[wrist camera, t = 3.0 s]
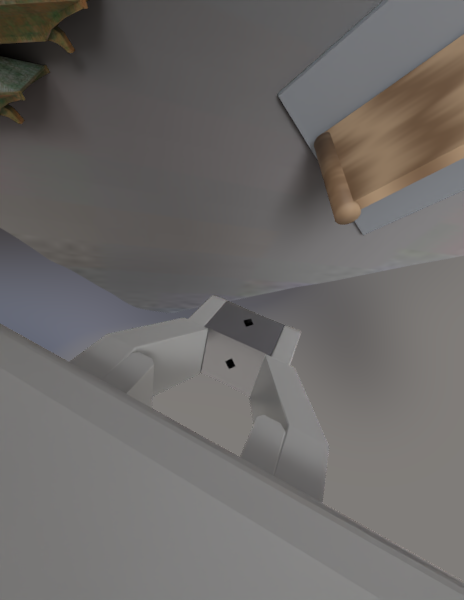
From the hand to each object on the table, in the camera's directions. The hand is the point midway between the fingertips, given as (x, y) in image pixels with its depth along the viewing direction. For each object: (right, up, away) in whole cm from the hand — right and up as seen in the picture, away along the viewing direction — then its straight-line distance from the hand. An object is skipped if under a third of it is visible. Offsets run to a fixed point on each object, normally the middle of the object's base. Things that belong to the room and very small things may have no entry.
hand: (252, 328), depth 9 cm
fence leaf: (+13, +19, +15) cm, 28 cm away
